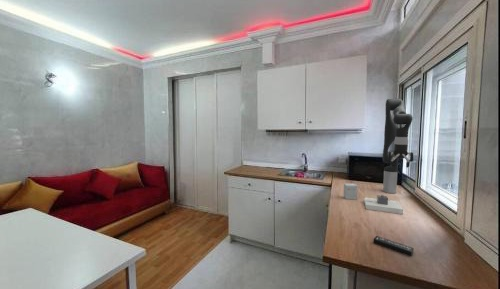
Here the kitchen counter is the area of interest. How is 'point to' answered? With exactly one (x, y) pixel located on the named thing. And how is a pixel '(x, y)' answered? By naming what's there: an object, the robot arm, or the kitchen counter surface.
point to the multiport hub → (393, 245)
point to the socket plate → (383, 206)
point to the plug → (382, 199)
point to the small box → (350, 191)
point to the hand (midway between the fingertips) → (399, 166)
